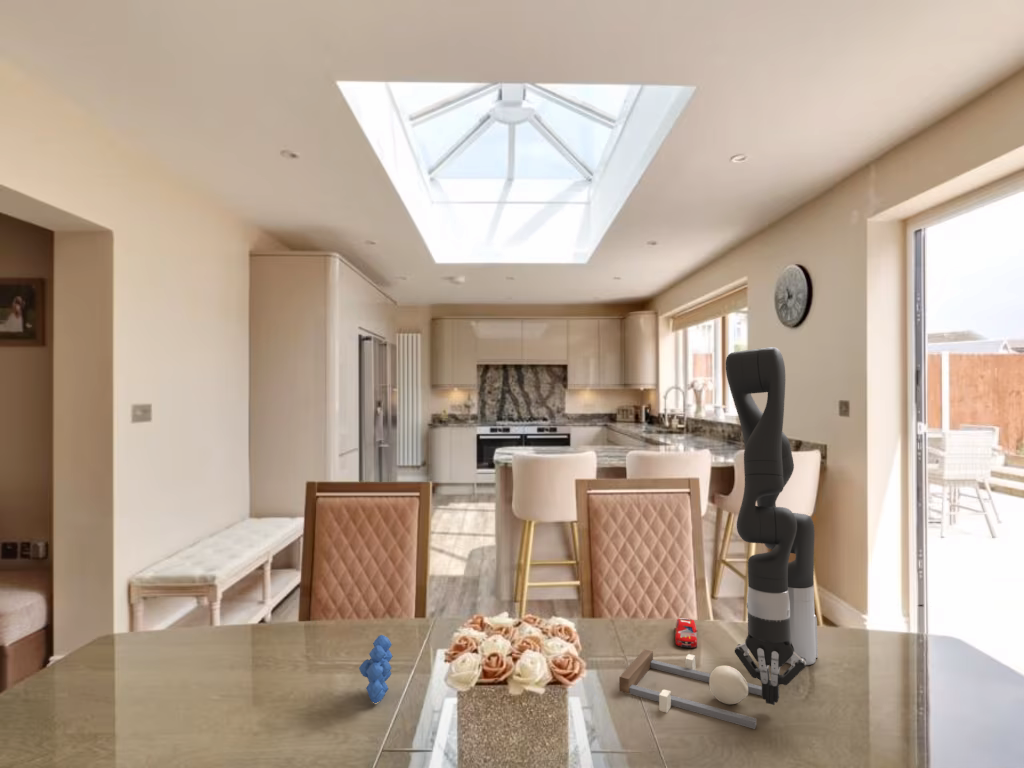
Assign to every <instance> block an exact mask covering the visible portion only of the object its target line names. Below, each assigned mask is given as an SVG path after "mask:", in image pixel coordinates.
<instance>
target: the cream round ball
mask: <svg viewBox="0 0 1024 768" xmlns="http://www.w3.org/2000/svg"><path fill="white" fill-rule="evenodd" d="M710 674H711V675H710V679H709V682H708V683H709V689H710V693H711V694H712V695H713V697H714V698H715V699H716V700H718V701H719V702H720V703H723V704H726V705H734V704H738V703H739V702H741V701H743V700H744V699H745V698H747V697H748V695H749V692H748V684H747V683H748V682H747V679H745V677H744V676H743V675H742V673H741V672H740V671H739V670H737V668H735V667H733V666H729V665H719V666H716V667H715V668H714V669H713V670H712V671H711V673H710Z"/></svg>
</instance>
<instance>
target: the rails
mask: <svg viewBox="0 0 1024 768" xmlns="http://www.w3.org/2000/svg"><path fill="white" fill-rule="evenodd" d="M650 669H654V670H658V671H662V672H665V673H669V674H673V675H678V676H680V677H681V676H682V677H685V678H688V679H694V680H697V681H702V682H706V683H709V679H710V675H711V673H708V672H705V671H699V670H696V669H695V670H693V669H689V668H686V667H683V666H680V665H675V664H673V663H672V664H671V663H668V662H664V661H660V660H655V659H653V660H652V661H651V668H650ZM747 684H748V694H752V695H753V694H754V695H757V696H760V697H762V685H758V684H754V683H750V682H747ZM661 692H662V691H661ZM661 692H660V691H658V690H653V689H650V688H648V687H647V688H646V687H643V686H640V685H631V686H630V687H629V694H628V695H633V696H637V697H641V698H644V699H648V700H651V701H655V702H658V703H659V694H660V693H661ZM672 706H673V707H675V708H679V709H683V710H685V711H690V712H693V713H696V714H700V715H704V716H708V717H711V718H714V719H718V720H722V721H725V722H728V723H732V724H736V725H739V726H742V727H746V728H749V729H753V730H756V727H757V718H756V717H752V716H749V715H745V714H742V713H737V712H735V711H734V712H733V711H730V710H726V709H723V708H719V707H716V706H712V705H709V704H704V703H702V702H698V701H693V700H690V699H687V698H683V697H678V696H676V695H672V694H671V707H672Z"/></svg>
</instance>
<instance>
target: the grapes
mask: <svg viewBox="0 0 1024 768" xmlns="http://www.w3.org/2000/svg"><path fill="white" fill-rule="evenodd" d="M372 644H373V646H374V647H372V649H371V650H370V651H369V653H368V655H369V656H370V657H369V658H370V659H368V658H367V659H365V660H364V661H363V662H362V663H361V664H360V666H359V667H358V669H359V672H360V674H361V676H363V677H365V678H366V679H367V680H368V684H367V686H366V687H365V688H366V691H367V693H368V698H369V699H370V701H371V703H373V702H374V703H377V702H379V701H380V702H381V701H382V700H383V699H384V698H385V696H386V693H387V692H388V690H389V687H388V684H387V683H386V682H387V681H388V679H389V678H390V677H391V675H392V672H391V670H392V665H391V664H390V662H391V660H392V659H393V657H394V656H393V655H392V652H391V651H390V649H391V647H392V645H393V644H392V642H391V640H390V639H389V637H388V636H385V635H383V634H379V635H378V636H377V637H376V638H375V640H374V641H373V642H372ZM380 702H379V703H380ZM374 703H373V704H374Z"/></svg>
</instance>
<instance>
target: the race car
mask: <svg viewBox="0 0 1024 768" xmlns="http://www.w3.org/2000/svg"><path fill="white" fill-rule="evenodd" d="M674 630H675V636H674V637H675V646H678V647H681V648H692V649H693V648H697V647H698V636H697V635H698V634H697V632H698V630H697V624H696V623H695V620H694V619H692V618H687V617H686V618H683V617H680V618H677V619H676V622H675V627H674Z"/></svg>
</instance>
